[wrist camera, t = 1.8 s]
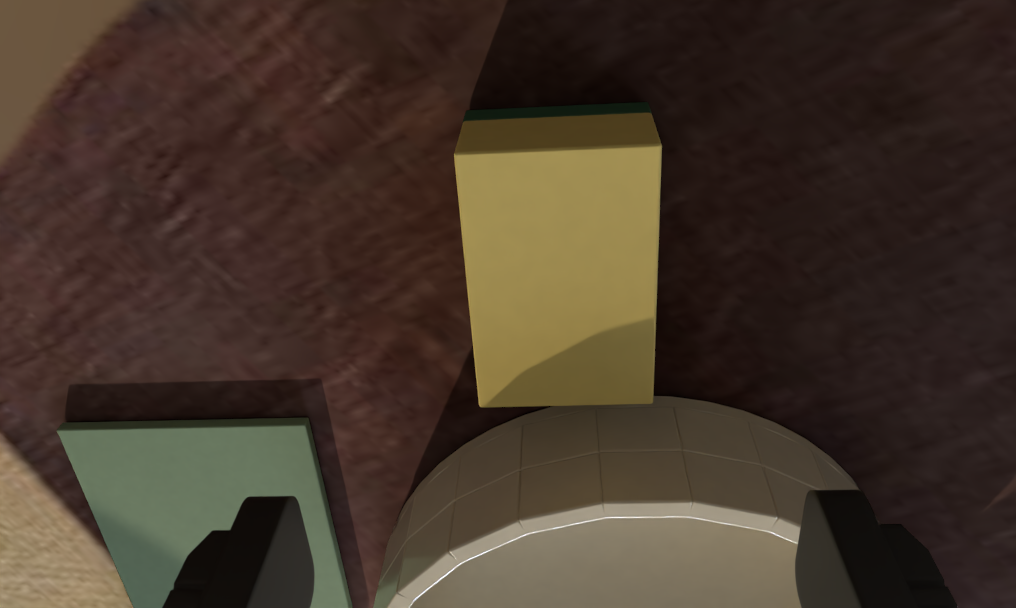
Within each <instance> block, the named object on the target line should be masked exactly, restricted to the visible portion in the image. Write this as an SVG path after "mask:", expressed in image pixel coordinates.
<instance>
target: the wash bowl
mask: <svg viewBox="0 0 1016 608" xmlns="http://www.w3.org/2000/svg"><path fill="white" fill-rule="evenodd" d="M810 490H860V489H859V487H858V486H857V485H856V483H855V482H854V481H853V479H852V478H851V477H850V476H849V475H848V474H847V473H846V472H845V471H844V470H843V469H842V468H841V467H840V466H839V465H838V464H837V463H836V462H835V461H834V460H833V459H832V458H831V457H830V456H829V455H827V454H826V453H825V452H823V451H822V450H820V449H819V448H818V447H816V446H815V445H813V444H812V443H811V442H809V441H808V440H807V439H805V438H804V437H802V436H800V435H798V434H796V433H794V432H792V431H790V430H788V429H787V428H785V427H783V426H781V425H779V424H777V423H775V422H773V421H770V420H767V419H765V418H762V417H760V416H757V415H754V414H752V413H749V412H746V411H744V410H740V409H736V408H732V407H728V406H724V405H720V404H716V403H712V402H708V401H702V400H694V399H687V398H680V397H673V396H653V403H651V404H618V405H572V406H552V407H549V408H545V409H542V410H538V411H535V412H532V413H528V414H525V415H522V416H520V417H518V418H515V419H513V420H511V421H508V422H506V423H503V424H501V425H499V426H496V427H494V428H492V429H490V430H488V431H487V432H485V433H483V434H481V435H480V436H478V437H476V438H474V439H473V440H471V441H469V442H467V443H466V444H464V445H463V446H462V447H460V448H459V449H458V450H456V451H455V452H454V453H452V454H451V455H450V456H448V457H447V458H446V459H444V460H443V461H442V462H440V463H439V464H438V466H437V467H436V468H435V469H434V470H433V471H432V472H431V473H430V474H429V475H428V476H427V477H426V478H425V479H424V480H423V481H422V482H421V483H420V484H419V485H418V487H417V488H416V489H415V491H414V492H413V494H412V495H411V496H410V498H409V499H408V501H407V502H406V503H405V505H404V507H403V509H402V511H401V513H400V515H399V517H398V519H397V521H396V523H395V525H394V527H393V531H392V534H391V537H390V538H389V541H388V545H387V549H386V554H385V558H384V562H383V567H382V571H381V576H380V580H379V585H378V589H377V594H376V598H375V603H374V607H373V608H802V607H801V604H800V601H799V597H798V593H797V587H796V578H795V559H796V553H797V546H798V540H799V534H800V528H801V522H802V516H803V510H804V504H805V499H806V495H807V493H808V491H810ZM876 519H877V518H876ZM877 521H878V520H877ZM878 523H879V522H878ZM879 524H880V523H879Z"/></svg>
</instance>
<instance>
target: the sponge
mask: <svg viewBox="0 0 1016 608" xmlns="http://www.w3.org/2000/svg"><path fill="white" fill-rule="evenodd" d="M661 159H662V144H661V141H660V138H659V135H658V132H657V129H656V126H655V123H654V120H653V117H652V114H651V110H650V107H649V104H648V102H635V103H614V104H593V105H571V106H550V107H529V108H507V109H486V110H467V111H466V113H465V116H464V120H463V124H462V128H461V132H460V135H459V139H458V142H457V146H456V149H455V153H454V160H455V170H456V180H457V190H458V200H459V210H460V220H461V230H462V240H463V250H464V260H465V270H466V280H467V290H468V300H469V310H470V320H471V330H472V340H473V350H474V360H475V370H476V380H477V390H478V400H479V406H480V407H526V406H572V405H618V404H651V403H653V395H654V365H655V336H656V306H657V277H658V248H659V218H660V189H661Z"/></svg>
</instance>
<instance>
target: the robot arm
mask: <svg viewBox="0 0 1016 608" xmlns="http://www.w3.org/2000/svg"><path fill="white" fill-rule="evenodd" d="M795 578H796V587H797V593H798V597H799V601H800V604H801V607H802V608H957V604H956V602H955V600H954V599H953V597H952V595H951V593H950V591H949V589H948V587H945V585H944V579H943V577H942V576H941V574H940V572H939V570H938V568H937V566H936V564H935V562H934V560H933V558H932V556H931V554H930V552H929V551H928V549H926V548H925V547H924V546H923V545H922V544H921V543H920V542H919V541H918V540H917V539H916V538H915V537H914V536H913V535H912V534H910V533H909V532H908V531H907V530H906V529H905V528H904V527H903V526H902V525H901V524H879V523H878V521H877V519H876V517H875V515H874V513H873V511H872V508H871V506H870V504H869V502H868V500H867V498H866V496H865V495H864V493H863V492H862V491H861V490H810V491H808V493H807V495H806V499H805V504H804V510H803V516H802V522H801V528H800V534H799V540H798V546H797V553H796V559H795ZM314 579H315V573H314V563H313V558H312V554H311V550H310V546H309V542H308V538H307V534H306V530H305V526H304V522H303V518H302V514H301V510H300V506H299V502H298V500H297V498H296V497H294V496H254V497H247V498H246V499H245V500H244V501H243V503H242V505H241V507H240V509H239V511H238V513H237V516H236V518H235V520H234V522H233V525H232V527H231V529H230V530H212V531H211V532H210V533H209V534H208V535H207V536H206V537H205V538H204V539H203V540H202V541H201V542H200V543H199V544H198V545H197V546H196V547H195V549H194V550H193V551H192V552H191V553H190V554H189V555H188V556H187V558H186V560H185V562H184V564H183V566H182V568H181V570H180V572H179V574H178V576H177V578H176V580H175V582H174V588H173V590H171V591H170V593H169V595H168V597H167V599H166V601H165V603H164V605H163V607H162V608H310V606H311V602H312V598H313V592H314Z"/></svg>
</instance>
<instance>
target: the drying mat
mask: <svg viewBox="0 0 1016 608" xmlns="http://www.w3.org/2000/svg"><path fill="white" fill-rule="evenodd" d="M57 432H58V434H59V437H60V439H61V441H62V443H63V446H64V448H65V450H66V453H67V455H68V457H69V460H70V462H71V464H72V467H73V469H74V471H75V473H76V476H77V478H78V480H79V483H80V485H81V487H82V490H83V492H84V494H85V497H86V499H87V501H88V504H89V506H90V508H91V510H92V513H93V515H94V517H95V520H96V522H97V524H98V527H99V529H100V531H101V534H102V536H103V538H104V541H105V543H106V545H107V547H108V550H109V552H110V554H111V557H112V559H113V561H114V564H115V566H116V568H117V571H118V573H119V575H120V578H121V580H122V582H123V584H124V587H125V589H126V591H127V594H128V596H129V598H130V601H131V603H132V605H133V608H162V607H163V605H164V603H165V601H166V599H167V597H168V595H169V593H170V591H171V590H173V588H174V582H175V580H176V578H177V576H178V574H179V572H180V570H181V568H182V566H183V564H184V562H185V560H186V558H187V556H188V555H189V554H190V553H191V552H192V551H193V550H194V549H195V547H196V546H197V545H198V544H199V543H200V542H201V541H202V540H203V539H204V538H205V537H206V536H207V535H208V534H209V533H210V532H211V531H212V530H230V529H231V527H232V525H233V522H234V520H235V518H236V516H237V513H238V511H239V509H240V507H241V505H242V503H243V501H244V500H245V499H246V498H247V497H254V496H294V497H296V498H297V500H298V502H299V506H300V510H301V514H302V518H303V522H304V526H305V530H306V534H307V538H308V542H309V546H310V550H311V554H312V558H313V563H314V573H315V579H314V592H313V598H312V602H311V606H310V608H353V607H352V602H351V598H350V594H349V590H348V585H347V581H346V577H345V572H344V568H343V564H342V560H341V555H340V551H339V547H338V542H337V538H336V534H335V530H334V525H333V521H332V517H331V512H330V508H329V504H328V500H327V495H326V491H325V487H324V482H323V478H322V474H321V469H320V465H319V461H318V457H317V452H316V448H315V444H314V439H313V435H312V431H311V427H310V422H309V418H260V419H212V420H165V421H117V422H70V423H62V424H61V425H60V427H59V428H58V429H57Z"/></svg>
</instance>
